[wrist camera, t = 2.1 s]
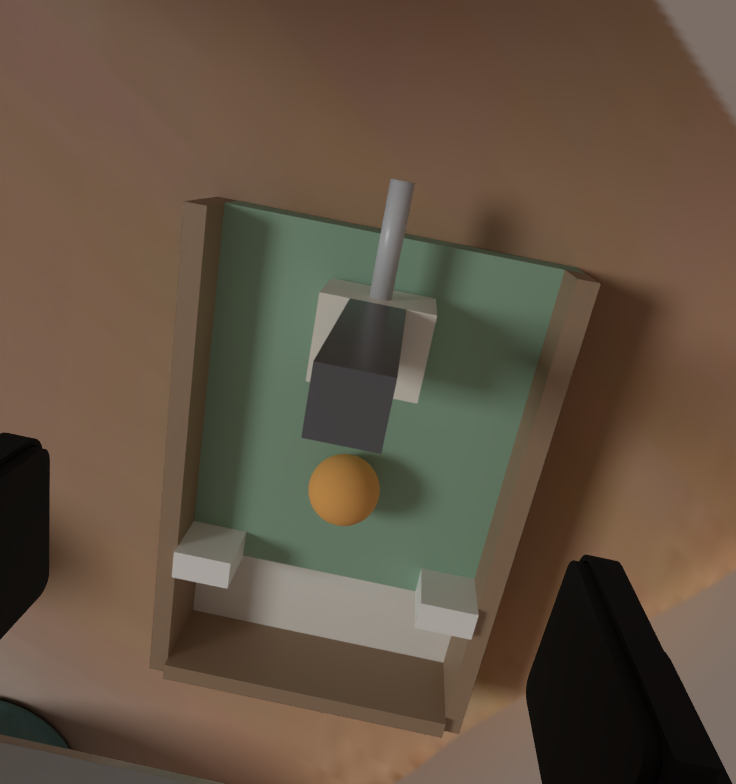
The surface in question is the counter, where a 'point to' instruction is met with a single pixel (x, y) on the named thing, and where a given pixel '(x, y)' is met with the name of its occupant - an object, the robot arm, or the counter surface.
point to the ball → (344, 489)
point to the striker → (368, 344)
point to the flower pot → (27, 726)
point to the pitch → (393, 466)
